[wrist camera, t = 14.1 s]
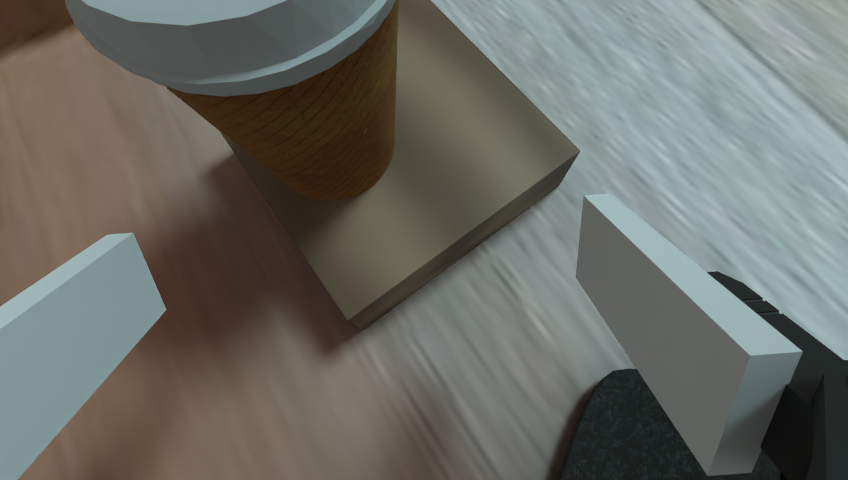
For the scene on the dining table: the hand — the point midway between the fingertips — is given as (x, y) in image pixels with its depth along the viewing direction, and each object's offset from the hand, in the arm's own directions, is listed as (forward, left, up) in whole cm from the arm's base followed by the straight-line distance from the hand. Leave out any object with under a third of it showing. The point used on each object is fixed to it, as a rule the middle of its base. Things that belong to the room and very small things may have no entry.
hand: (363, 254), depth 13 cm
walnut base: (-5, -7, -11) cm, 14 cm away
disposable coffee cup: (-2, -8, -7) cm, 11 cm away
